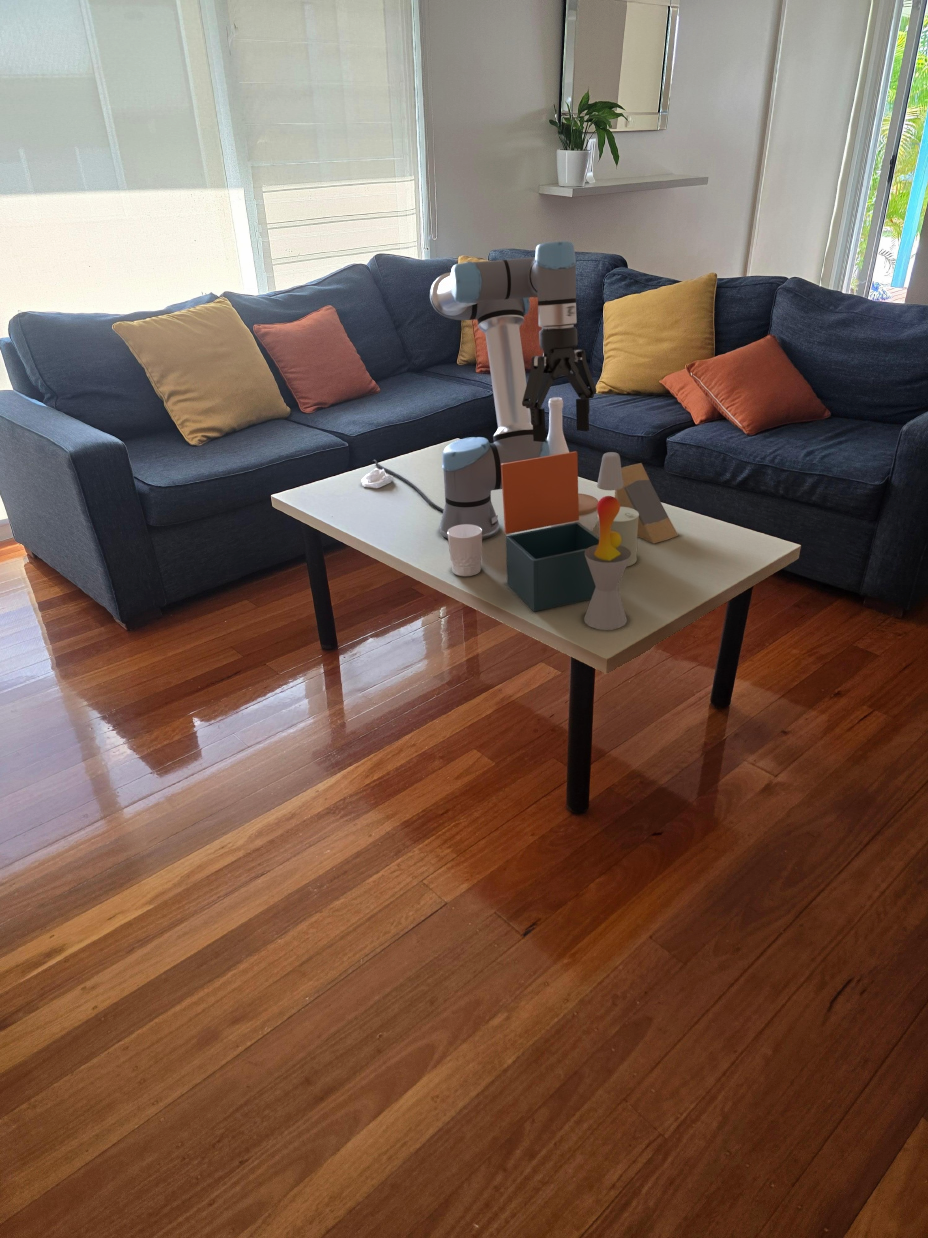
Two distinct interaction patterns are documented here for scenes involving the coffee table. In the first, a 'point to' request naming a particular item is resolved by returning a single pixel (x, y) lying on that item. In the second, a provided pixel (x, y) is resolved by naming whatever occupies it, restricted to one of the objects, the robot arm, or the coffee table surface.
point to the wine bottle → (556, 428)
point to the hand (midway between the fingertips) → (561, 435)
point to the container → (551, 565)
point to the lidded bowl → (586, 511)
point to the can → (627, 530)
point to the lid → (540, 492)
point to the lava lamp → (607, 554)
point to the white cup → (465, 549)
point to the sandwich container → (644, 505)
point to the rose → (376, 479)
